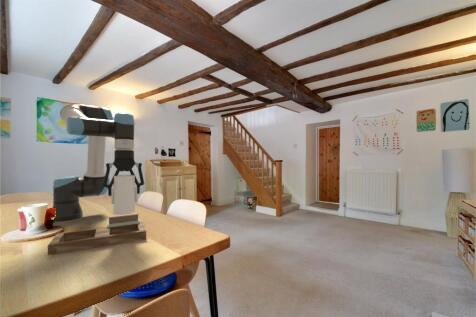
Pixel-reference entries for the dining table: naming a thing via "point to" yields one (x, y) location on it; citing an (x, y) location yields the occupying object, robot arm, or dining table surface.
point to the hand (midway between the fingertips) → (124, 202)
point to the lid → (123, 220)
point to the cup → (124, 194)
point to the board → (95, 238)
